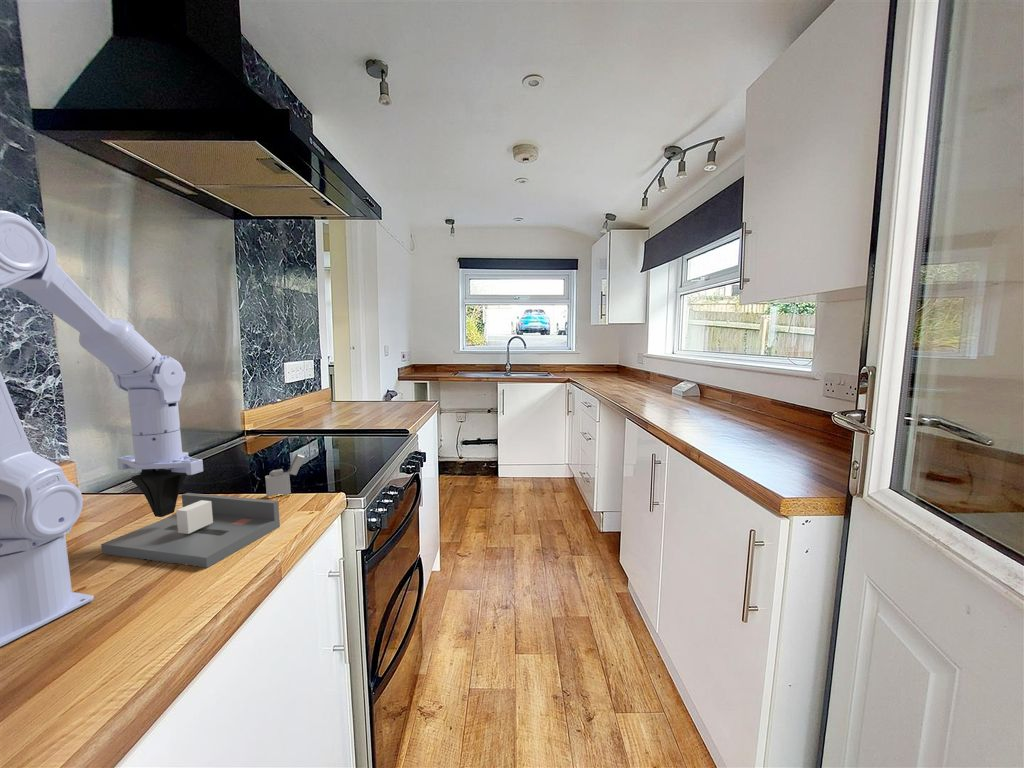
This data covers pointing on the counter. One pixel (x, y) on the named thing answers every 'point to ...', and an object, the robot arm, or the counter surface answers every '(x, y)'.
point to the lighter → (282, 478)
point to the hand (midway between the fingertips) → (164, 514)
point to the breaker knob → (194, 516)
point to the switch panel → (200, 532)
